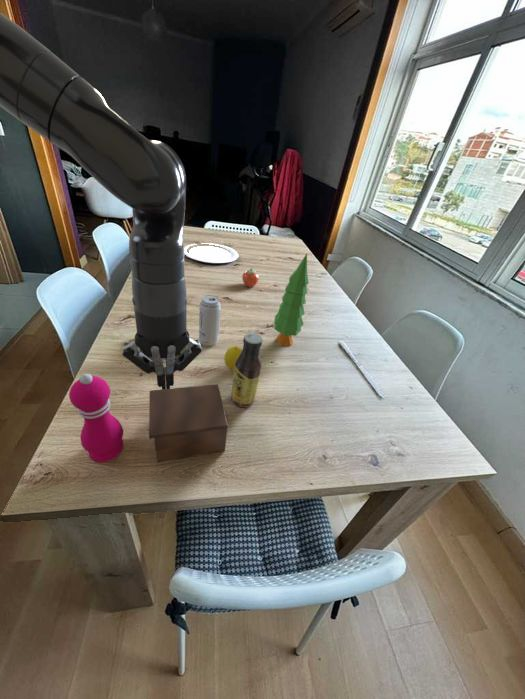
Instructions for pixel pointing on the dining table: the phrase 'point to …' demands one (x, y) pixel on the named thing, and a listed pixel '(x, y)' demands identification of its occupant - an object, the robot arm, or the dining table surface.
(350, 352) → the butter knife
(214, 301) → the energy drink can
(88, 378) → the pepper mill
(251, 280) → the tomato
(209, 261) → the plate
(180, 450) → the box
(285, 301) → the decorative tree
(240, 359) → the sauce bottle
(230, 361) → the lemon
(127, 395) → the dining table surface
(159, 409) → the lid
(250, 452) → the dining table surface
